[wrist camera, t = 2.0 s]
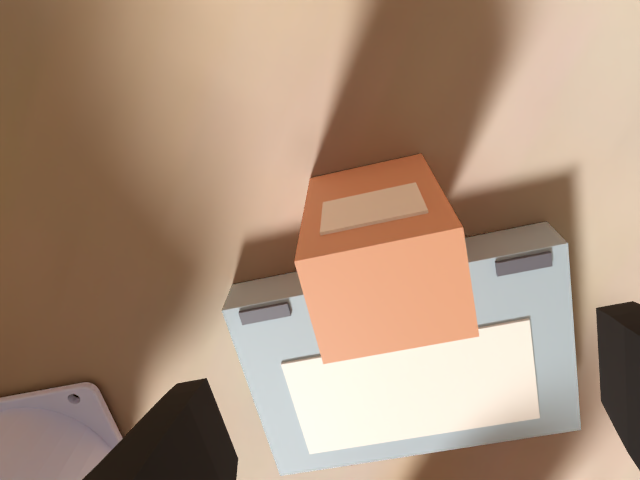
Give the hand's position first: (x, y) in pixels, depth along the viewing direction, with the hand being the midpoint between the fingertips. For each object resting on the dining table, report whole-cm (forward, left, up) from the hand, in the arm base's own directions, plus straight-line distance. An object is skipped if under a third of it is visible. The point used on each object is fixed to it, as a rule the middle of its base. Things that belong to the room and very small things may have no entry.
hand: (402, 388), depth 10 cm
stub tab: (0, 0, -10) cm, 10 cm away
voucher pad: (0, -6, -10) cm, 12 cm away
